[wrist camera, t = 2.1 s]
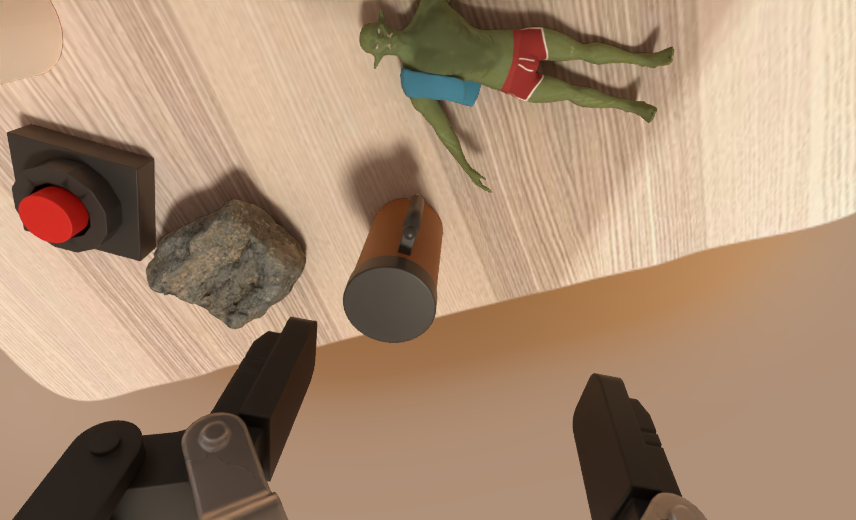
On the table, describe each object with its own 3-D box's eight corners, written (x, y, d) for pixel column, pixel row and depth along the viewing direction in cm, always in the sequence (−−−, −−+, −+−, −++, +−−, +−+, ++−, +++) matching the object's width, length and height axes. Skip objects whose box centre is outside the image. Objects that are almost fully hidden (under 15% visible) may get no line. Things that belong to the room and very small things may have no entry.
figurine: (627, 217, 31) (343, 173, 30) (607, 201, 35) (353, 162, 34) (718, -73, 25) (370, -136, 24) (682, -55, 29) (379, -110, 28)
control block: (44, 218, 40) (4, 241, 36) (30, 123, 36) (-17, 139, 32) (155, 248, 40) (126, 273, 37) (154, 158, 36) (121, 178, 33)
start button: (41, 224, 36) (22, 235, 34) (34, 179, 34) (13, 189, 32) (91, 237, 36) (74, 249, 34) (86, 194, 34) (69, 204, 33)
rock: (284, 176, 36) (258, 204, 32) (326, 287, 41) (309, 324, 37) (137, 204, 38) (95, 233, 34) (193, 306, 43) (163, 343, 39)
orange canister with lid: (432, 269, 39) (421, 352, 31) (365, 250, 39) (335, 329, 30) (460, 188, 36) (456, 257, 27) (385, 166, 35) (358, 230, 27)
